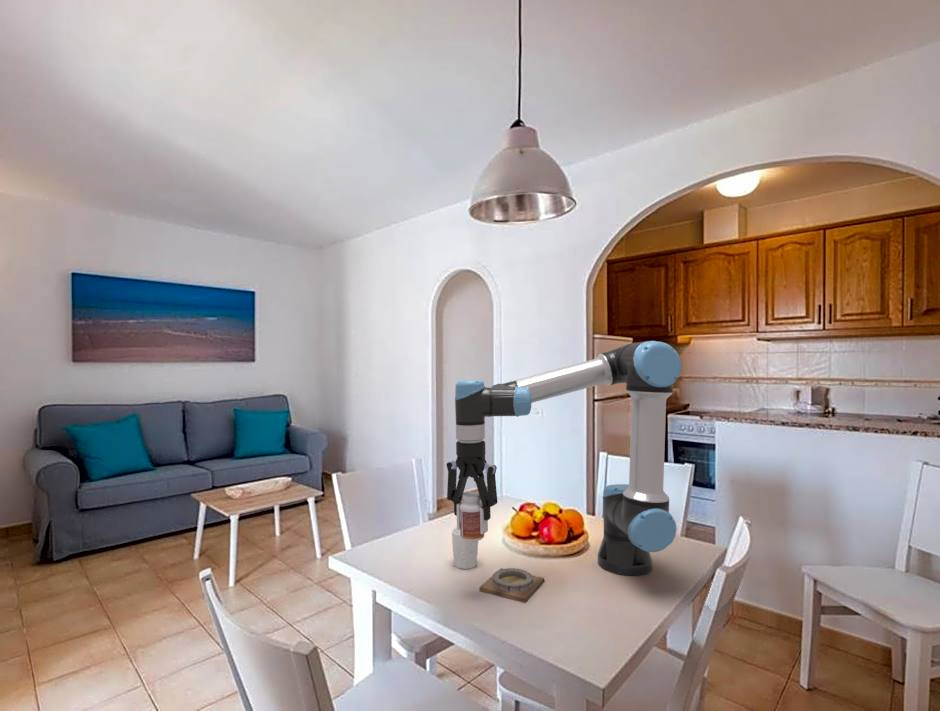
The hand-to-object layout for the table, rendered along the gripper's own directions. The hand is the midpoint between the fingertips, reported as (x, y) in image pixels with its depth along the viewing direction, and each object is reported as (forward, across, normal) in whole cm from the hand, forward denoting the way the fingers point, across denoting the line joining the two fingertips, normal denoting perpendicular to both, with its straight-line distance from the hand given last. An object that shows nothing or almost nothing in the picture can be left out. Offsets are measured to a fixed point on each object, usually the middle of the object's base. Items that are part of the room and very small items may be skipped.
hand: (472, 530), depth 125 cm
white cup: (+17, +11, -15) cm, 25 cm away
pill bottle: (+2, 0, 0) cm, 2 cm away
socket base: (+17, -7, -9) cm, 20 cm away
